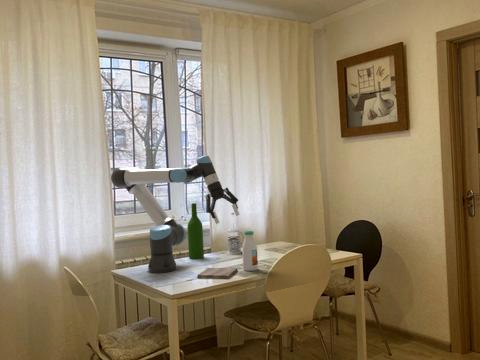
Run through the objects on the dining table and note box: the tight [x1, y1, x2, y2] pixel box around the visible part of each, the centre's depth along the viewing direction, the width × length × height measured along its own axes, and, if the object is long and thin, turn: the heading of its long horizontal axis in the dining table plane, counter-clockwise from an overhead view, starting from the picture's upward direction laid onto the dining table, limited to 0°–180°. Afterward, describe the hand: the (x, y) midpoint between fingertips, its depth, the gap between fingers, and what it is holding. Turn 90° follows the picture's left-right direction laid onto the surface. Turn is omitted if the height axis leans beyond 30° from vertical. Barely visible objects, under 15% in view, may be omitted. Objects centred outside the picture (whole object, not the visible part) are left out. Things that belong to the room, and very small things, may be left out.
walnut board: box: [196, 267, 238, 280], centre depth 245 cm, size 16×16×2 cm
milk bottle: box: [241, 230, 259, 272], centre depth 253 cm, size 8×8×20 cm
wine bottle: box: [186, 203, 205, 260], centre depth 292 cm, size 9×9×32 cm
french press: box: [226, 212, 245, 255], centre depth 302 cm, size 10×12×25 cm
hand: (228, 219), depth 262 cm, fingers open, 13 cm apart
